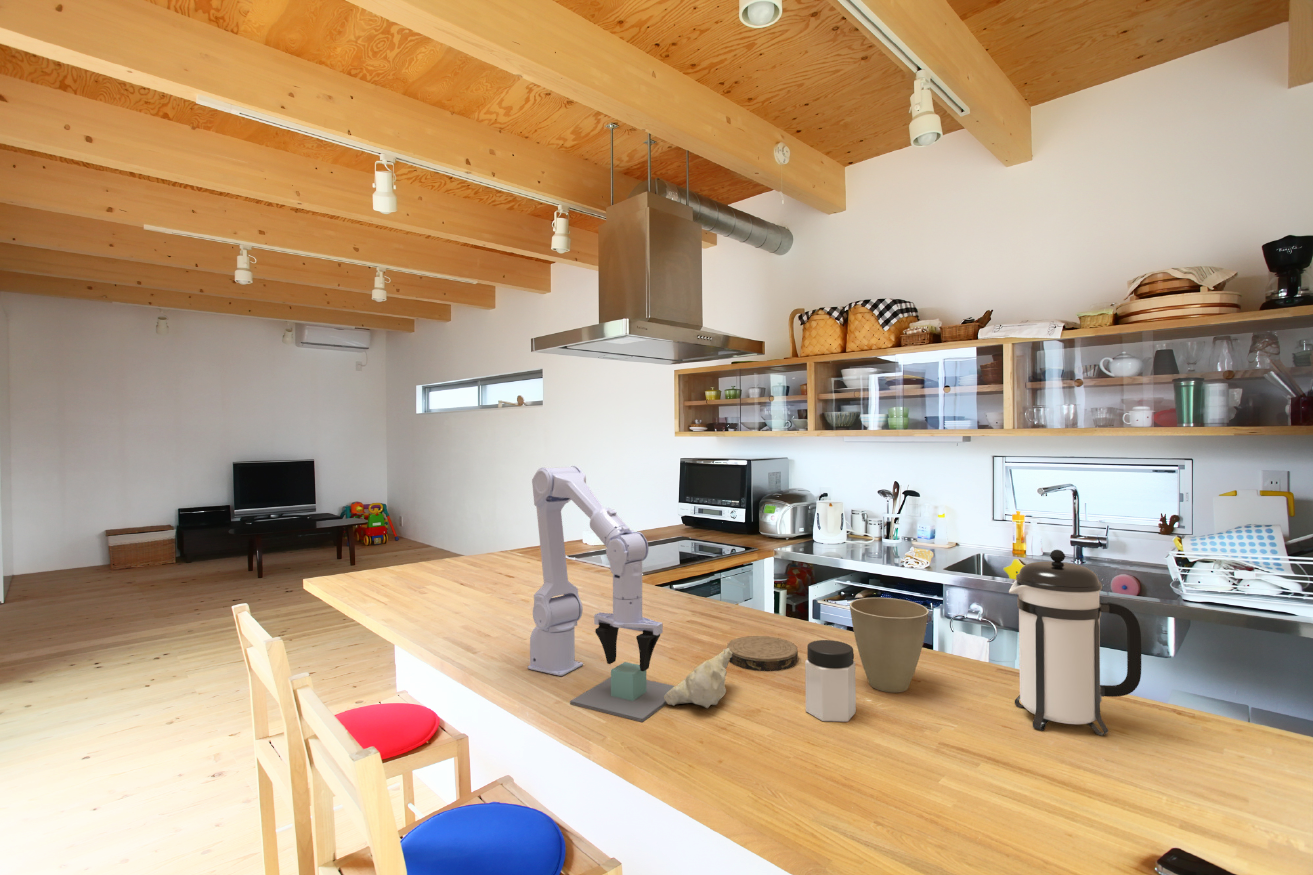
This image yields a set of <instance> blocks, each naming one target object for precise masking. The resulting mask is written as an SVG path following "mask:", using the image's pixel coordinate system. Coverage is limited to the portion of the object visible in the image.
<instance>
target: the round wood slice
mask: <svg viewBox="0 0 1313 875" xmlns="http://www.w3.org/2000/svg"><path fill="white" fill-rule="evenodd" d="M727 648H729V649H730V651H731V652H732V657H731V658H730V660H729V662H728V663H730V664H731V665H733V666H734V667H735V666H736V667H737V668H740V669H741V668H742V669H744V670H747V671H748V670H749V671H755V672H779V671H785V670H788V669H791V668H794V667H795V666H796V665H797V664H798V662H799V658H798V657H799V656H798V654H799V653H798V652H799V651H798V650H799V649H798V646H797V645H796V644H795V643H794V642H791V641H789V640H787V639H783V638H779V637H774V636H767V635H750V636H749V635H748V636H741V637H737V638H734V639H731V640H730V641H729V642H728V643H727V645H726V649H727Z"/></svg>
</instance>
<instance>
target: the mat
mask: <svg viewBox="0 0 1313 875" xmlns="http://www.w3.org/2000/svg"><path fill="white" fill-rule="evenodd" d="M646 680H647V692H646V693H644V694H643V695H641V696H640V697H638V698H637V699H635V700H634V701H631V700H627V699H622V698H618V697H614V696H611V676H610V677H608V678H607V679H605V680H603V681H602V682H600V683H598V684H597V685H595V686H593V687H591V688H589V689H588V690H586V691H584V692H583V693H581V694H579V695H578V696H576V697H574V698H572V699H571V700H570V701H569V704H570V705H572V706H576V707H580V708H584V709H588V710H591V711H597V712H599V713H603V714H609V715H613V716H616V717H619V718H624V719H628V720H632V721H635V722H639V723H643V722H645V721H646V720H647V719H649V718H650V717H651V716H653V715H654V714H655V713H657V712H658V711H659V710H661V709H662V708H663V707H664V706H666V705H668V703H667V702H666V701H665V699H664V696H665V695H666V693H667V692H668V691H670V690H671V689H672V688H673V687H674V686H675V685H673V684H669V683H662V682H658V681H653V680H650V679H649V680H648V679H646Z"/></svg>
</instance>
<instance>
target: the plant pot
mask: <svg viewBox="0 0 1313 875" xmlns="http://www.w3.org/2000/svg"><path fill="white" fill-rule="evenodd" d="M849 610H850V617H851V623H852V629H853V634H854V638H855V643H856V646H857V651H858V654H859V657H860V661H861V664H862V667H863V670H864V673H865V676H866V678H867V682H868V684H869V685H870V687H872V688H873V689H876V690H878V691H880V692H885V693H893V694H894V693H895V694H896V693H903V692H906V691H907V690H908V689H909V686H910V685H911V681H913V676H914V674H915V672H916V669H917V666H918V662H919V660H920V656H921V652H922V650H923V649H922V648H923V645H924V641H925V636H926V633H927V632H926V630H927V625H928V618H929V612H930V611H929V609H928V608H927V607H925V606H924V605H922V604H920V603H917V602H915V601H910V600H907V599H906V600H905V599H901V598H899V599H898V598H893V597H865V598H857V599H855V600H852V601H851V602H850V603H849Z"/></svg>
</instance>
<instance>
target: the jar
mask: <svg viewBox="0 0 1313 875" xmlns="http://www.w3.org/2000/svg"><path fill="white" fill-rule="evenodd" d="M806 648H807V655H806V656H807V659H806V660H805V663H804V664H805V665H804V667H805V669H804V670H805V676H804V677H805V711H806V713H808V714H810V715H811V716H813V717H814V718H816V719H818V720H820V721H822V722H839V723H845V722H848V723H849V721H850V720H851V719H852V717H853V716H854V715H855V714H856V712H857V706H856V705H857V704H856V703H857V702H856V701H857V700H856V699H857V698H856V696H857V695H856V694H857V693H856V692H857V691H856V686H857V685H856V679H857V678H856V661H854V658H855V654H854V647H853V646H852V645H850V644H848V643H846V642H844V641H843V642H842V641H838V640H832V639H820V640H818V639H817V640H813V641H811V642H809V643H808V644H807V647H806Z"/></svg>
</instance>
